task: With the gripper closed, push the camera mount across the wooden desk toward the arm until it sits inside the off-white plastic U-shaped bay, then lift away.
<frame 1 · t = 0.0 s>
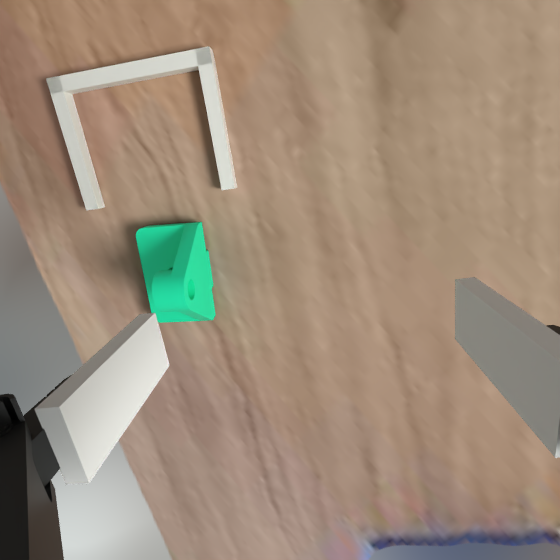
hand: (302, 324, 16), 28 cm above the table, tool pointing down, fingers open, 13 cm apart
camera mount: (182, 269, 46), on the table
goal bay: (153, 154, 41), on the table
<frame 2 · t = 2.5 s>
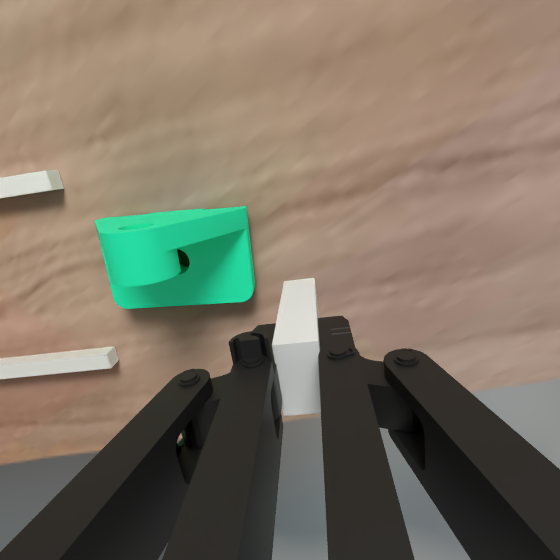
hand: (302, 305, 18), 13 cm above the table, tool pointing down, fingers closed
camera mount: (187, 253, 32), on the table
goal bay: (40, 279, 33), on the table
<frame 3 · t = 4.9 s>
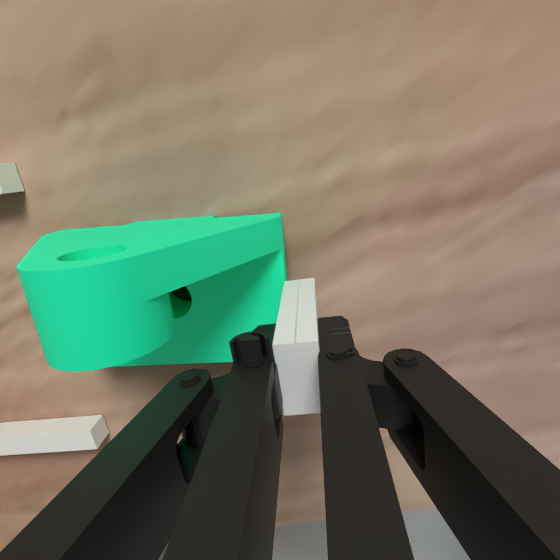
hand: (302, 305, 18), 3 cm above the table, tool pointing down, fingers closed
camera mount: (188, 282, 21), on the table, touching gripper
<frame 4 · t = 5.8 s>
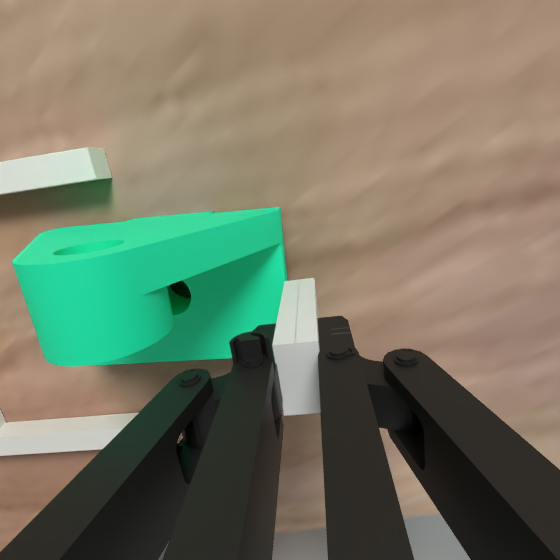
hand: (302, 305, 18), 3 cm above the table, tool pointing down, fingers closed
camera mount: (187, 279, 21), on the table, touching gripper
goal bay: (70, 314, 22), on the table
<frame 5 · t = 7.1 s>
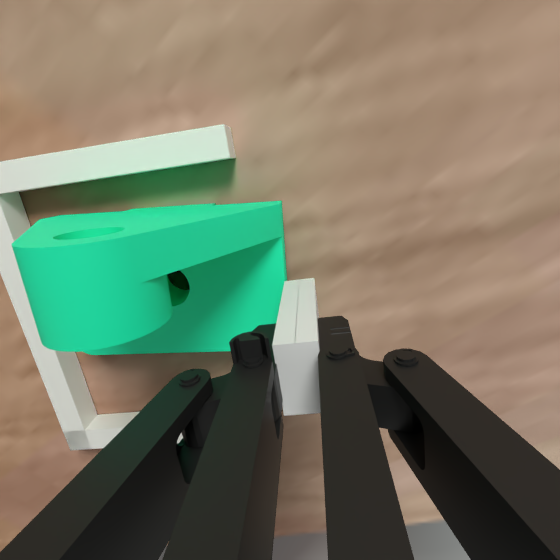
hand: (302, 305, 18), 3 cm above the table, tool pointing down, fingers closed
camera mount: (186, 271, 21), on the table, touching gripper
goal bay: (177, 301, 21), on the table
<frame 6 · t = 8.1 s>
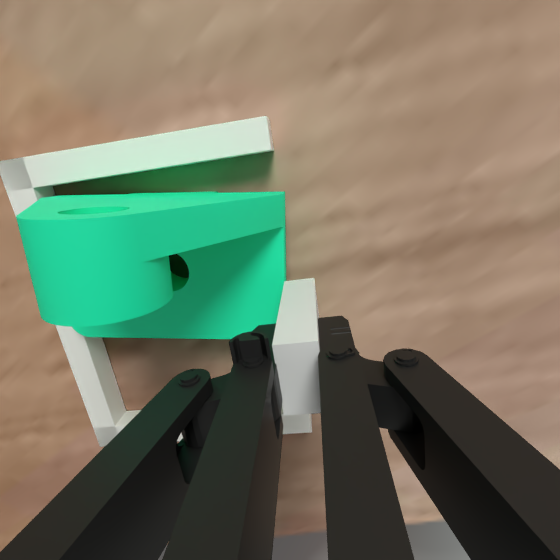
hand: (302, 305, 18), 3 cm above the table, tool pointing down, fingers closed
camera mount: (185, 258, 21), on the table
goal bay: (210, 296, 21), on the table
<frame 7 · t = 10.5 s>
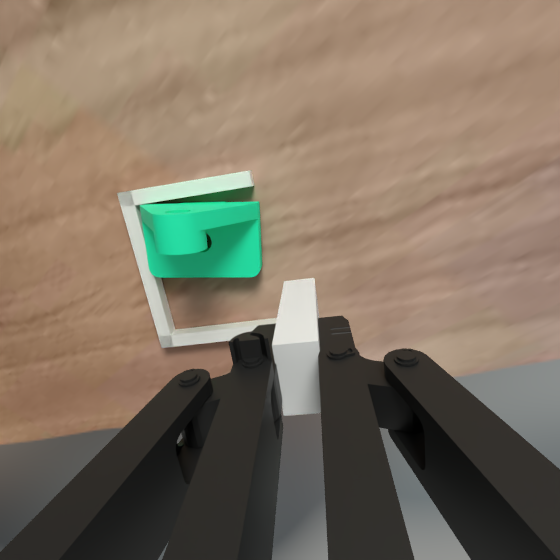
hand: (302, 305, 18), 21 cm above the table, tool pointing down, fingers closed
camera mount: (208, 236, 39), on the table
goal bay: (222, 261, 40), on the table
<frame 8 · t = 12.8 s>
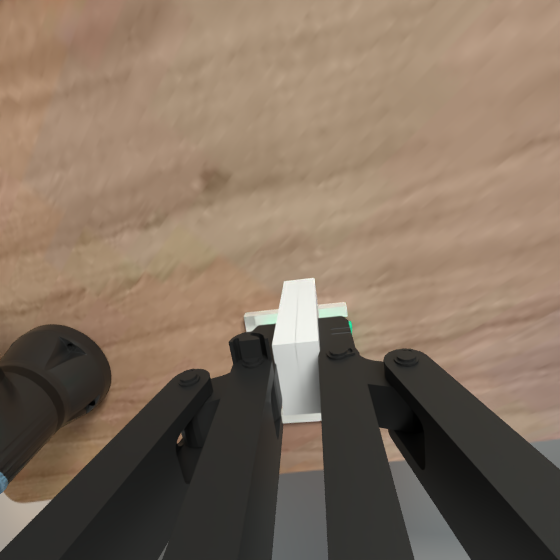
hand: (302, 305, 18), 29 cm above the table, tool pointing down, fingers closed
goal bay: (316, 362, 52), on the table
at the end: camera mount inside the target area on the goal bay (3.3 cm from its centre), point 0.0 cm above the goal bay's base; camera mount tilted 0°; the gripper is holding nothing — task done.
